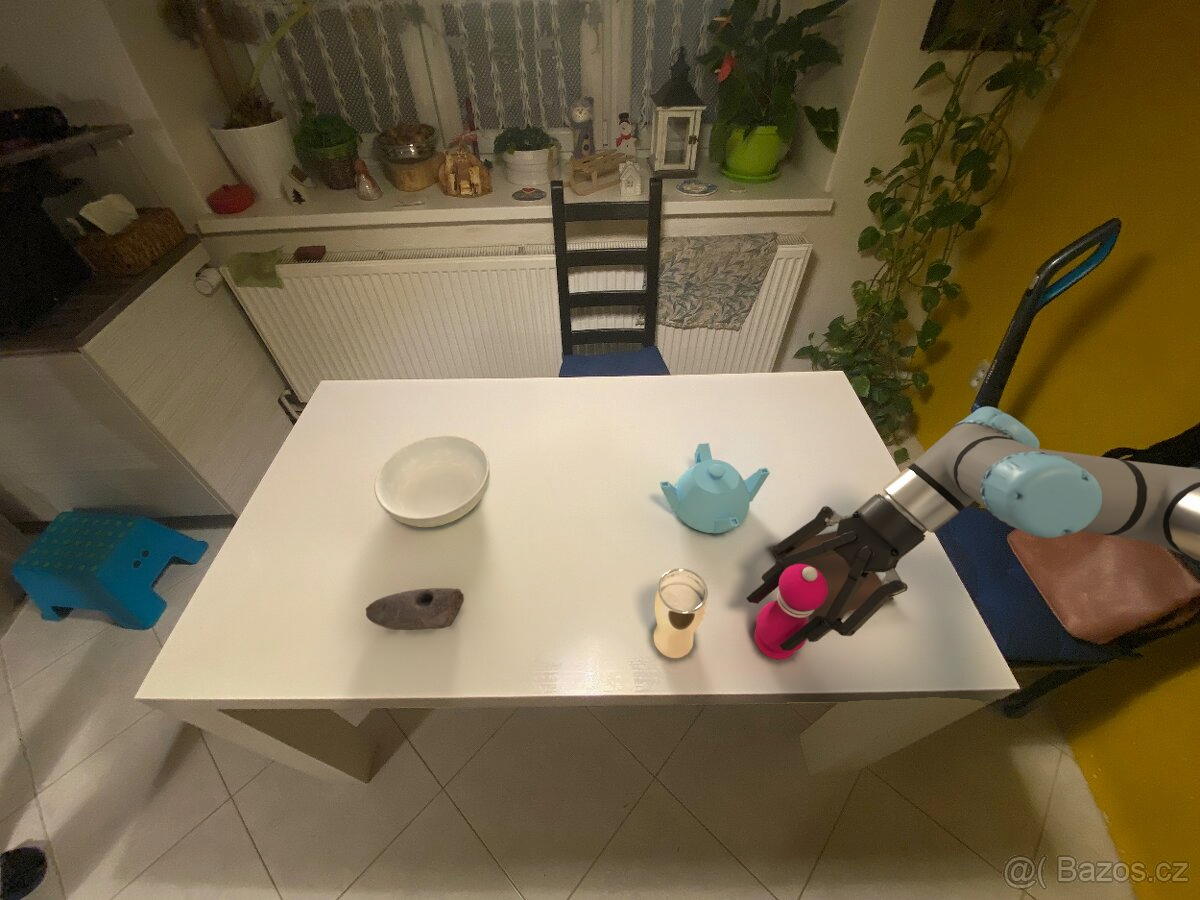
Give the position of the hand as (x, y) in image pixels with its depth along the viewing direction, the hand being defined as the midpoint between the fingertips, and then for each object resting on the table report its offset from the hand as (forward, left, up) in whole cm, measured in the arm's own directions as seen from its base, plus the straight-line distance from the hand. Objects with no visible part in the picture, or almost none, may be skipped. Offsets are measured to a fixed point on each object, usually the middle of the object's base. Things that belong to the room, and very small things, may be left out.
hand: (768, 623), depth 70 cm
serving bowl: (+43, +46, -9) cm, 63 cm away
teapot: (+27, -3, -9) cm, 28 cm away
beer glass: (+5, +12, -9) cm, 15 cm away
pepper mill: (+1, -3, -9) cm, 9 cm away
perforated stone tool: (+18, +50, -9) cm, 53 cm away
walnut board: (+9, -17, -8) cm, 21 cm away
